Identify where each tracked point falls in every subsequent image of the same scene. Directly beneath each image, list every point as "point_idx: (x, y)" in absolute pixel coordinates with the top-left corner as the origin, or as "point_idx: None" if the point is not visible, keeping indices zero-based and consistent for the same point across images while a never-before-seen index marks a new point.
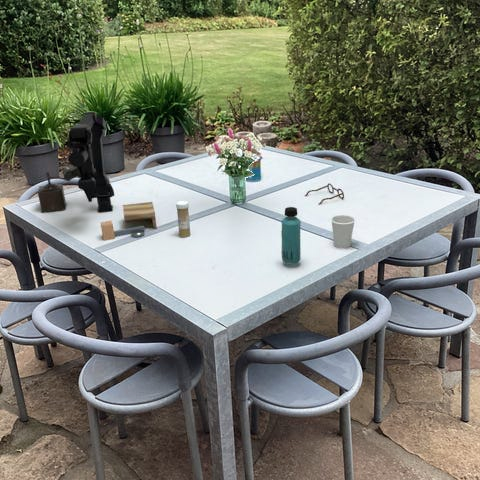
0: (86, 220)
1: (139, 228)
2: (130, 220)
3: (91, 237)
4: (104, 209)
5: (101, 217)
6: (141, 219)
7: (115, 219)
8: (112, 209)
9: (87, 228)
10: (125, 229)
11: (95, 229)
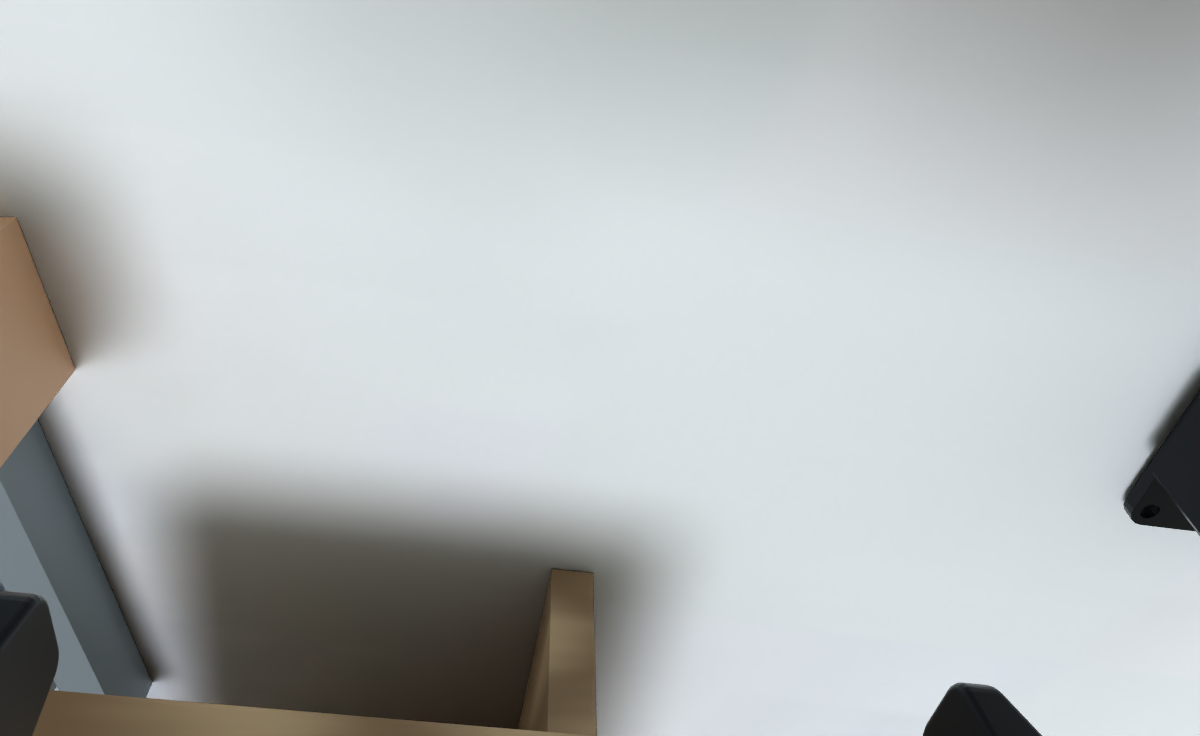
0: (1029, 63)
1: (71, 690)
2: (539, 630)
3: (17, 19)
4: (1190, 442)
5: (975, 329)
6: (522, 716)
7: (735, 486)
8: (1144, 521)
9: (559, 16)
10: (26, 571)
11: (433, 154)
